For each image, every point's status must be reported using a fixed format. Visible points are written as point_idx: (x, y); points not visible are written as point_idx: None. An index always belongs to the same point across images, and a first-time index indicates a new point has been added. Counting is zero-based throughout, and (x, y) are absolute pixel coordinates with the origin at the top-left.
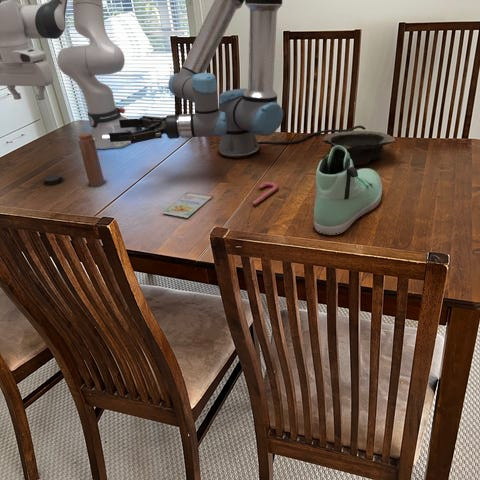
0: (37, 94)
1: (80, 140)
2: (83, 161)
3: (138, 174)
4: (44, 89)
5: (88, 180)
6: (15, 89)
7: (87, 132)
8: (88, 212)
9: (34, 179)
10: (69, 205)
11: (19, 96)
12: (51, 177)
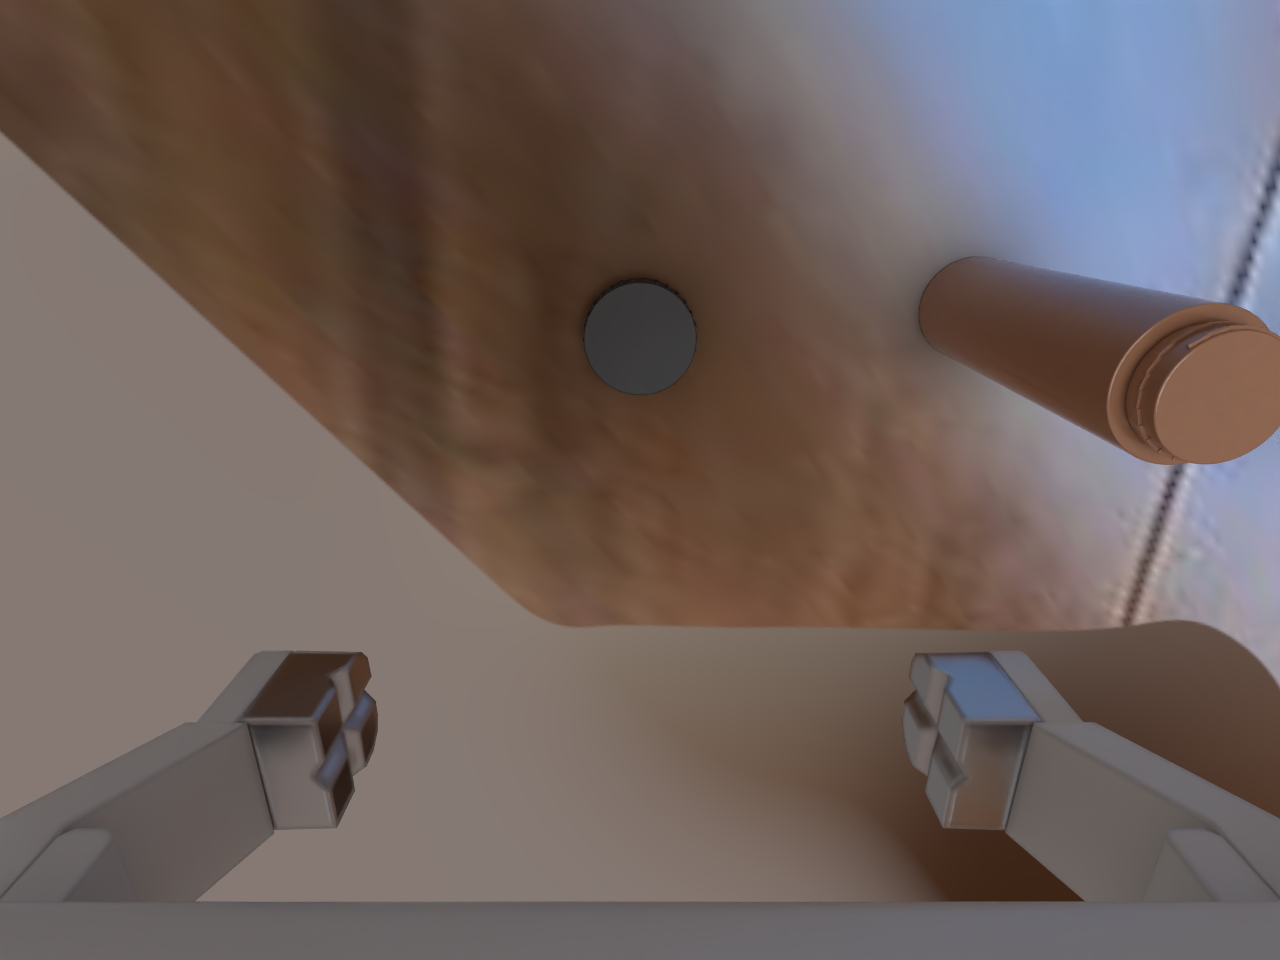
0: (957, 805)
1: (1153, 452)
2: (1006, 382)
3: (1238, 97)
4: (1229, 809)
5: (946, 353)
6: (143, 789)
7: (1240, 340)
8: (1068, 628)
9: (470, 323)
10: (928, 585)
11: (347, 706)
12: (632, 341)
